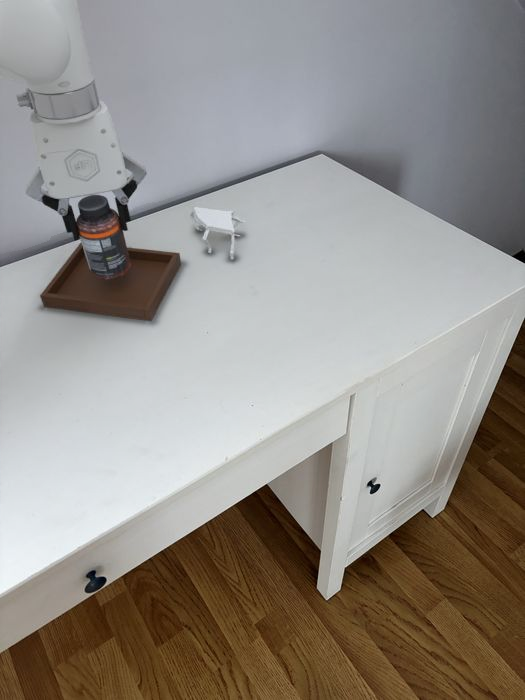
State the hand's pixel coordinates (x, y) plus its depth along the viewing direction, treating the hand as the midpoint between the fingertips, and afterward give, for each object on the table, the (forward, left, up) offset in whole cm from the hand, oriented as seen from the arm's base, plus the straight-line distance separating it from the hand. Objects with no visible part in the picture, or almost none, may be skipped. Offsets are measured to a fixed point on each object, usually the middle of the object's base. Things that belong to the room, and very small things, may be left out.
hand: (100, 229), depth 79 cm
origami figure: (+12, +14, -10) cm, 21 cm away
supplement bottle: (0, 0, -7) cm, 7 cm away
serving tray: (0, 0, -10) cm, 10 cm away
